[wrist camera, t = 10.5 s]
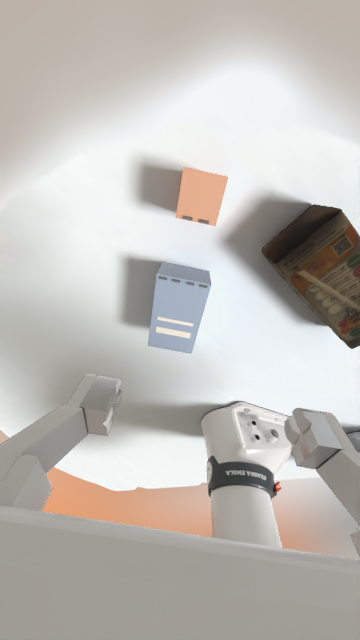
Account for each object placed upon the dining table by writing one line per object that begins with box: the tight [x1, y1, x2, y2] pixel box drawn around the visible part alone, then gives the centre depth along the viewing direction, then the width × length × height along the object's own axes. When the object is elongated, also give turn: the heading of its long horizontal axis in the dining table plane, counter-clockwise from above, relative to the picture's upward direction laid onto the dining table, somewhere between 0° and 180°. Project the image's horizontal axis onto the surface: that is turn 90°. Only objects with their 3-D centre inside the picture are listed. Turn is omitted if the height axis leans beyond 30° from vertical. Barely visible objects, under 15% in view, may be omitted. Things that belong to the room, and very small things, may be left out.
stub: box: [176, 167, 228, 226], centre depth 22 cm, size 4×4×5 cm
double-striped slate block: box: [148, 262, 211, 354], centre depth 30 cm, size 7×12×5 cm, turn 170°
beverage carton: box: [262, 204, 360, 349], centre depth 26 cm, size 8×19×7 cm, turn 49°
